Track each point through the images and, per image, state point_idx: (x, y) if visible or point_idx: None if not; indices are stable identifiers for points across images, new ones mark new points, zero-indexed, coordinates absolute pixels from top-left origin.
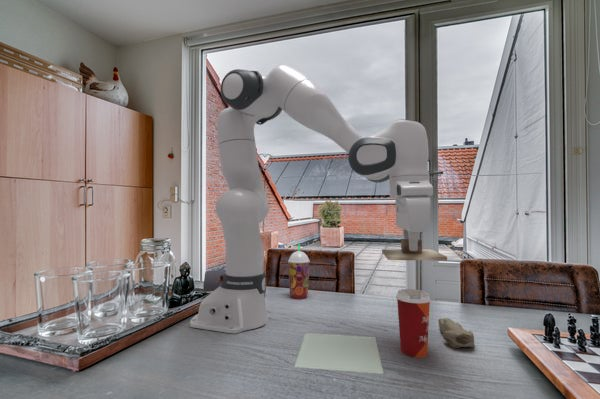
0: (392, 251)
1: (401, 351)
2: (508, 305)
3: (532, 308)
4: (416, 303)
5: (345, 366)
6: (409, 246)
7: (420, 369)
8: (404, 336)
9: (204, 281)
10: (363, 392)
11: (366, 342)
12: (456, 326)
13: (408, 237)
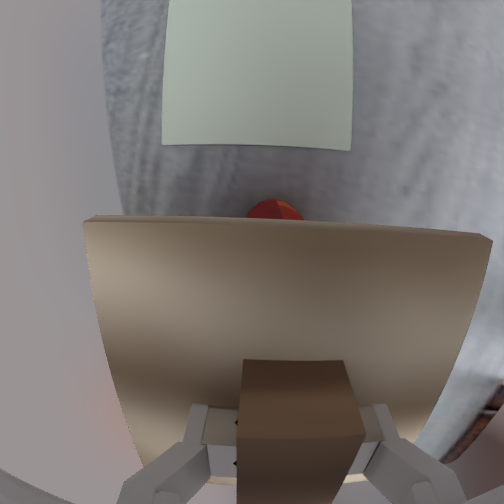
0: (373, 303)
1: (269, 200)
2: (467, 434)
3: (446, 454)
4: None
5: (182, 69)
6: (188, 422)
7: None
8: (251, 213)
9: None
10: (109, 108)
11: (315, 122)
12: None
13: (389, 475)
